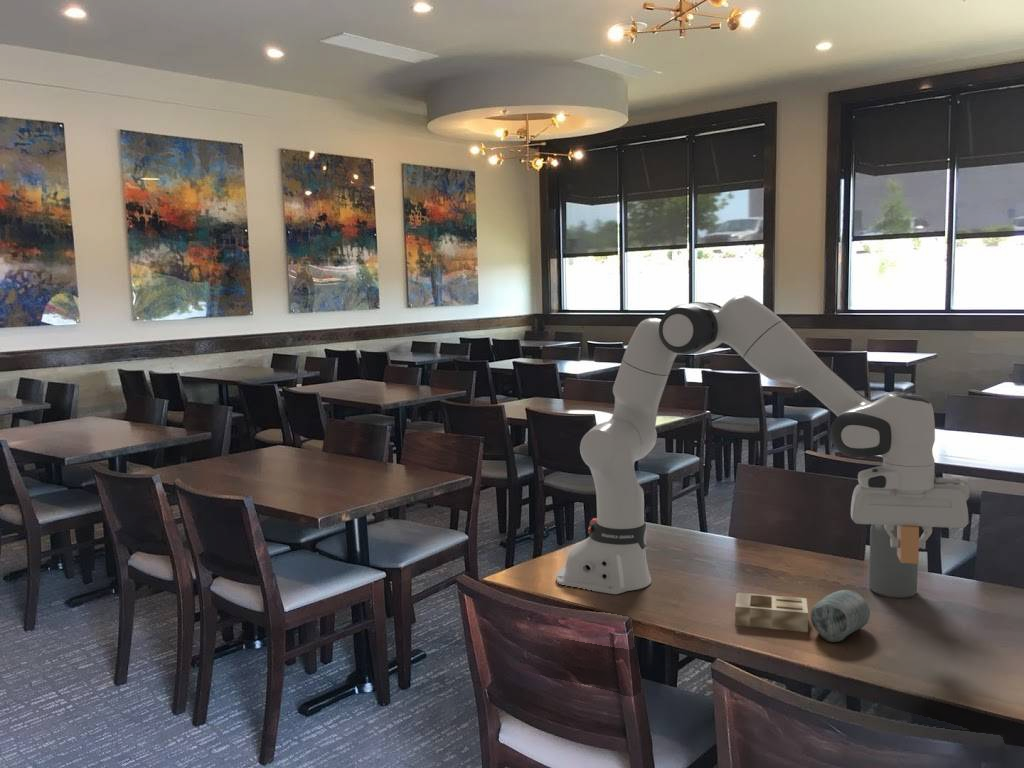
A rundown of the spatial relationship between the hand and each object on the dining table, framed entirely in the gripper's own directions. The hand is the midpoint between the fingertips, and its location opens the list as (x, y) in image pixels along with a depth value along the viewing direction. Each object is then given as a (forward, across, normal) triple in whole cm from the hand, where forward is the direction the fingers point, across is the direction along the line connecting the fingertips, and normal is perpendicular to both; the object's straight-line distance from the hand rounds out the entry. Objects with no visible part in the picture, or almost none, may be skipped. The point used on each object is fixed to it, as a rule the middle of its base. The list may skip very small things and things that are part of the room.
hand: (907, 547), depth 155 cm
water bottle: (+18, -1, -26) cm, 32 cm away
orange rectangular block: (+2, 0, 0) cm, 2 cm away
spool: (+18, +12, 0) cm, 22 cm away
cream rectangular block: (+18, +25, -3) cm, 31 cm away
